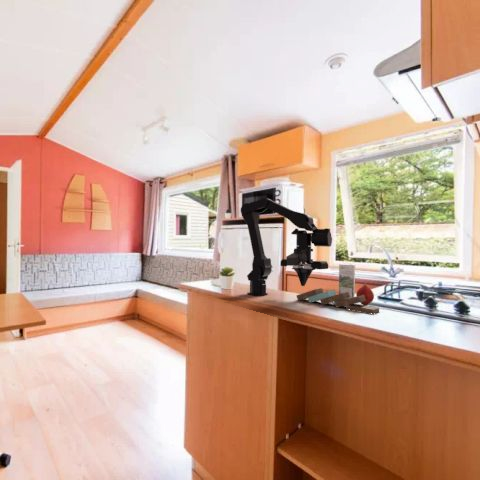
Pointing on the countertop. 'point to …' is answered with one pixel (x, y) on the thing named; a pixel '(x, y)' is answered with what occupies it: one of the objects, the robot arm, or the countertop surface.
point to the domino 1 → (309, 294)
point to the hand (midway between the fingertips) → (302, 286)
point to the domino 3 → (335, 298)
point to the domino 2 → (321, 296)
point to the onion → (366, 294)
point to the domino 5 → (362, 308)
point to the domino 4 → (350, 301)
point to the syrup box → (347, 279)
